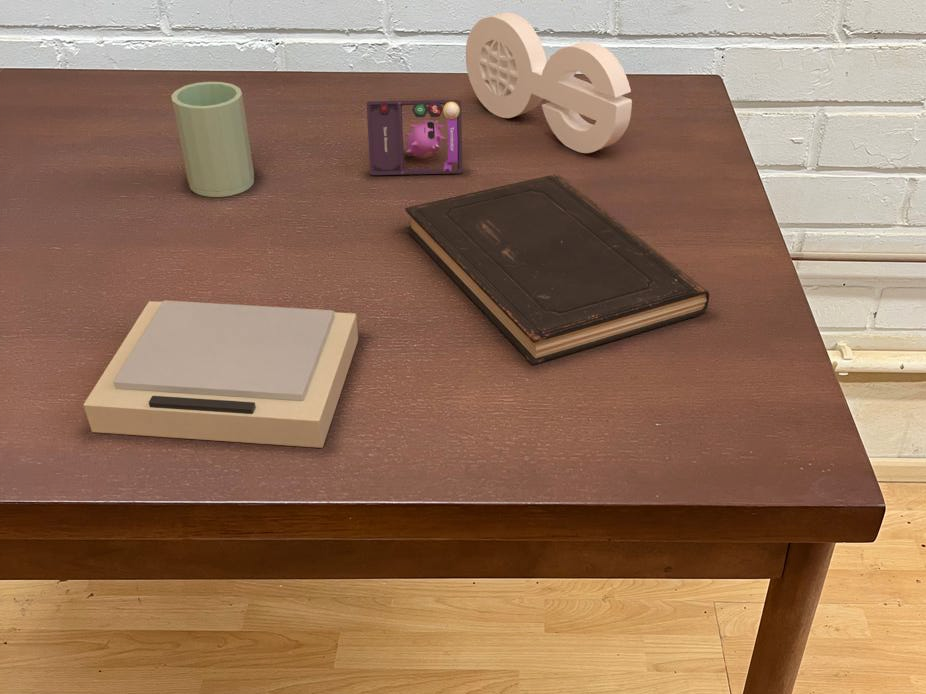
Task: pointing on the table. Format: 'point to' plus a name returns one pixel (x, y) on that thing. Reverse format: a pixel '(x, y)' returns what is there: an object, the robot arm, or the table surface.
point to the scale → (226, 374)
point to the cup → (214, 138)
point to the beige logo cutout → (548, 82)
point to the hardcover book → (553, 267)
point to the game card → (412, 135)
